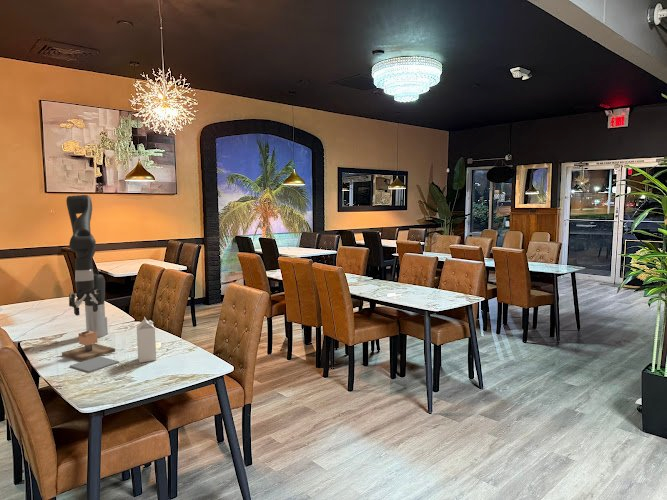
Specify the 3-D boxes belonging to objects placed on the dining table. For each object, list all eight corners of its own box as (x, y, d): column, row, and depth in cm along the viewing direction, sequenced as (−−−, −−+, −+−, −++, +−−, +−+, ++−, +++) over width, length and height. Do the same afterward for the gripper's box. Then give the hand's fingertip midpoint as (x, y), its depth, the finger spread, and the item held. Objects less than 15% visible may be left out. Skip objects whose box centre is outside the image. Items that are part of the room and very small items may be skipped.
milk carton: (139, 363, 203) (137, 321, 201) (137, 358, 209) (136, 317, 208) (156, 360, 206) (154, 319, 205) (154, 355, 213) (152, 315, 211)
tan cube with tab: (90, 340, 220) (89, 328, 219) (97, 342, 217) (96, 330, 216) (79, 343, 215) (78, 331, 214) (86, 345, 212) (85, 333, 211)
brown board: (94, 346, 227) (93, 328, 226) (115, 351, 219) (114, 333, 218) (62, 355, 213) (60, 336, 212) (82, 361, 205) (81, 341, 205)
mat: (100, 357, 210) (99, 356, 210) (119, 362, 204) (119, 361, 204) (69, 366, 198) (69, 365, 198) (89, 372, 191) (89, 371, 191)
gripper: (94, 276, 221) (95, 309, 222) (64, 280, 209) (66, 315, 210) (103, 277, 217) (105, 311, 219) (74, 281, 205) (76, 317, 206)
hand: (86, 313), depth 214 cm, fingers open, 8 cm apart
